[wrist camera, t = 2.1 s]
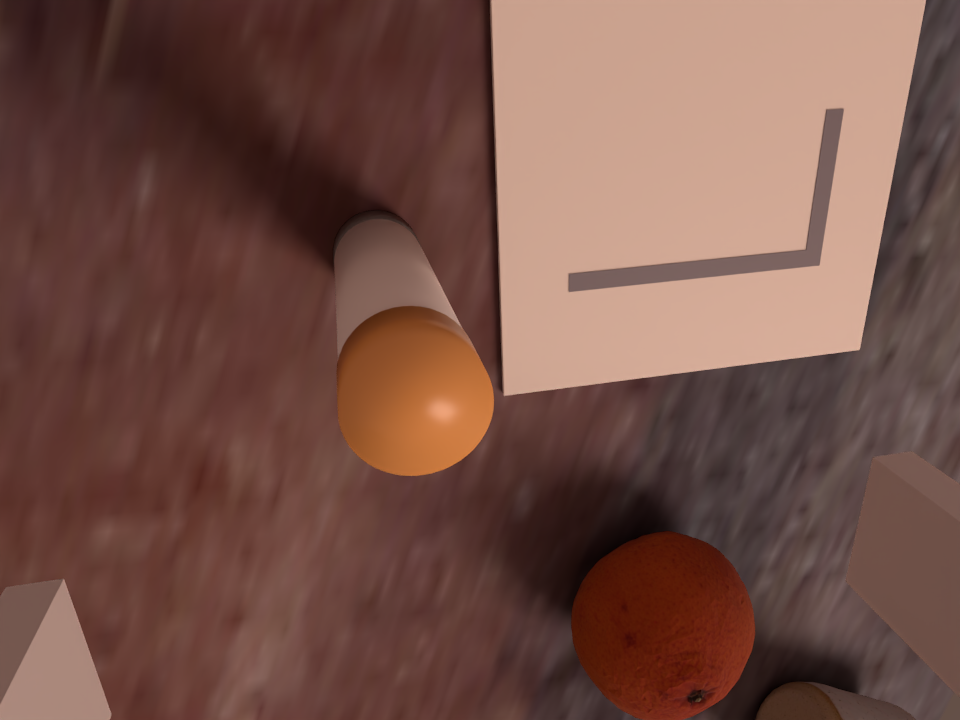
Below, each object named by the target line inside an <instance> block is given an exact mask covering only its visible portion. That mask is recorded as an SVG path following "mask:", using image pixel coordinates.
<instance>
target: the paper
mask: <svg viewBox="0 0 960 720" xmlns="http://www.w3.org/2000/svg"><path fill="white" fill-rule="evenodd" d="M925 3H926V0H490V26H491V56H492V86H493V117H494V147H495V177H496V207H497V237H498V268H499V298H500V328H501V358H502V388H503V395H504V396H506V395H514V394H522V393H530V392H537V391H545V390H553V389H560V388H568V387H576V386H584V385H591V384H599V383H607V382H615V381H622V380H630V379H638V378H646V377H653V376H661V375H669V374H676V373H684V372H692V371H700V370H707V369H715V368H723V367H731V366H738V365H746V364H754V363H762V362H769V361H777V360H785V359H793V358H800V357H808V356H816V355H823V354H831V353H839V352H847V351H854V350H860V345H861V340H862V335H863V329H864V324H865V319H866V314H867V308H868V303H869V298H870V293H871V287H872V282H873V277H874V272H875V266H876V261H877V256H878V250H879V245H880V240H881V235H882V229H883V224H884V219H885V214H886V208H887V203H888V198H889V193H890V187H891V182H892V177H893V171H894V166H895V161H896V156H897V150H898V145H899V140H900V135H901V129H902V124H903V119H904V113H905V108H906V103H907V98H908V92H909V87H910V82H911V77H912V71H913V66H914V61H915V56H916V50H917V45H918V40H919V34H920V29H921V24H922V19H923V13H924V8H925Z"/></svg>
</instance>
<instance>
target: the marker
mask: <svg viewBox="0 0 960 720" xmlns="http://www.w3.org/2000/svg"><path fill="white" fill-rule="evenodd" d="M333 260H334V272H335V296H336V321H337V345H338V363H337V401H338V419H339V424H340V428H341V431H342V433H343V436H344V438H345V440H346V441H347V443H348V445H349V446H350V447H351V449H352V450H353V451H354V452H355V453H356V454H357V455H358V456H359V457H360V458H361V459H362V460H364V461H365V462H366V463H368V464H369V465H371V466H373V467H375V468H377V469H379V470H382V471H384V472H388V473H392V474H397V475H404V476H416V475H425V474H430V473H434V472H437V471H441V470H443V469H446V468H448V467H450V466H452V465H454V464H455V463H457V462H459V461H460V460H462V459H463V458H464V457H466V456H467V455H468V454H469V453H470V452H471V451H472V450H473V449H474V448H475V447H476V446H477V445H478V443H479V442H480V441H481V439H482V438H483V436H484V435H485V433H486V431H487V429H488V427H489V424H490V421H491V418H492V414H493V408H494V395H493V388H492V384H491V381H490V378H489V376H488V374H487V372H486V370H485V368H484V366H483V364H482V362H481V360H480V358H479V356H478V354H477V352H476V350H475V348H474V346H473V344H472V342H471V340H470V339H469V337H468V336H467V334H466V333H465V331H464V330H463V329H462V327H461V325H460V323H459V321H458V319H457V317H456V315H455V313H454V311H453V309H452V307H451V305H450V303H449V301H448V299H447V298H446V296H445V294H444V292H443V290H442V288H441V286H440V284H439V282H438V280H437V278H436V276H435V274H434V272H433V270H432V268H431V266H430V264H429V262H428V260H427V258H426V256H425V254H424V252H423V250H422V248H421V245H420V243H419V241H418V239H417V237H416V235H415V233H414V232H413V230H412V228H411V227H410V226H409V225H408V224H407V223H406V222H405V221H404V220H403V219H402V218H400V217H399V216H397V215H395V214H393V213H390V212H386V211H381V210H371V211H365V212H362V213H359V214H357V215H355V216H353V217H352V218H350V219H349V220H348V221H347V222H346V223H345V224H344V225H343V226H342V227H341V229H340V230H339V232H338V234H337V236H336V238H335V242H334V247H333Z"/></svg>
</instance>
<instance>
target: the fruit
mask: <svg viewBox="0 0 960 720" xmlns="http://www.w3.org/2000/svg"><path fill="white" fill-rule="evenodd" d="M571 628H572V636H573V643H574V647H575V650H576V653H577V655H578V658H579V660H580V663H581V665H582V666H583V668H584V669H585V671H586V672H587V674H588V676H589V677H590V679H591V680H592V681H593V682H594V684H595V685H596V686H597V687H598V688H599V690H600V691H601V692H602V693H603V695H604V696H605V697H606V698H607V699H609V700H610V701H611V702H613V703H614V704H615V705H616V706H617V707H618V708H620V709H621V710H622V711H624V712H626V713H628V714H630V715H632V716H634V717H635V718H639V719H644V720H682V719H685V718H689V717H692V716H694V715H696V714H698V713H700V712H702V711H704V710H705V709H707V708H709V707H710V706H712V705H714V704H716V703H717V702H719V701H720V700H722V699H723V698H724V697H725V696H726V695H727V694H728V692H729V691H730V690H731V689H732V687H733V686H734V685H735V684H736V682H737V681H738V680H739V678H740V675H741V673H742V671H743V669H744V667H745V665H746V663H747V660H748V658H749V656H750V654H751V651H752V648H753V643H754V637H755V623H754V614H753V608H752V604H751V601H750V598H749V595H748V593H747V590H746V587H745V585H744V583H743V582H742V581H741V579H740V577H739V575H738V573H737V572H736V570H735V568H734V567H733V565H732V564H731V563H730V562H729V560H728V559H727V558H725V556H724V555H723V554H722V553H721V552H720V551H719V550H717V549H716V548H714V547H713V546H711V545H710V544H708V543H706V542H704V541H701V540H699V539H696V538H693V537H690V536H687V535H683V534H680V533H676V532H671V531H664V532H657V533H652V534H649V535H643V536H641V537H639V538H637V539H634V540H631V541H629V542H627V543H625V544H623V545H621V546H619V547H618V548H616V549H615V550H613V551H612V552H610V553H609V554H607V555H606V556H604V557H603V558H602V559H600V560H599V561H598V562H597V563H596V564H595V565H594V567H593V568H592V569H591V570H590V571H589V572H588V574H587V575H586V577H585V578H584V580H583V581H582V583H581V585H580V587H579V589H578V592H577V595H576V597H575V599H574V603H573V608H572V616H571Z"/></svg>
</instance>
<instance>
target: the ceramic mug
mask: <svg viewBox="0 0 960 720" xmlns="http://www.w3.org/2000/svg"><path fill="white" fill-rule="evenodd" d="M755 720H916V719H915V718H914V717H913V716H912V715H911V714H909V713H908V712H906V711H905V710H903V709H902V708H900V707H898V706H896V705H893V704H891V703H888V702H885V701H880V700H876V699H873V698H870V697H866V696H863V695H859V694H855V693H852V692H848V691H844V690H840V689H837V688H834V687H831V686H828V685H824V684H820V683H815V682H790V683H786V684H784V685H782V686H780V687H778V688H776V689H774V690H773V691H772V692H771V693H770V694H769V695H768V696H767V697H766V698H765V700H764V701H763V703H762V704H761V706H760V708H759V711H758V713H757V716H756V719H755Z"/></svg>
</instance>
